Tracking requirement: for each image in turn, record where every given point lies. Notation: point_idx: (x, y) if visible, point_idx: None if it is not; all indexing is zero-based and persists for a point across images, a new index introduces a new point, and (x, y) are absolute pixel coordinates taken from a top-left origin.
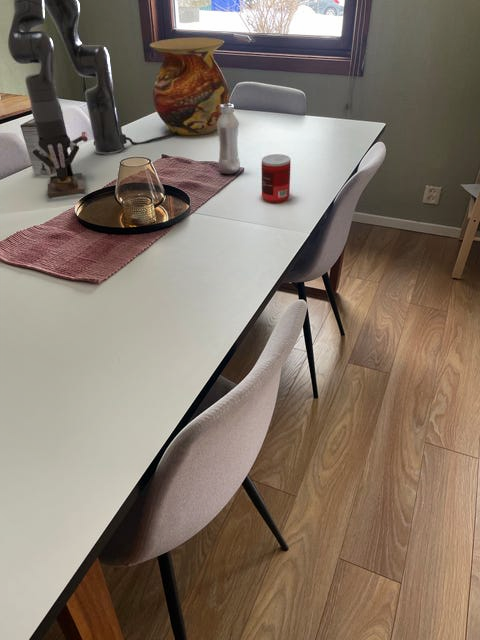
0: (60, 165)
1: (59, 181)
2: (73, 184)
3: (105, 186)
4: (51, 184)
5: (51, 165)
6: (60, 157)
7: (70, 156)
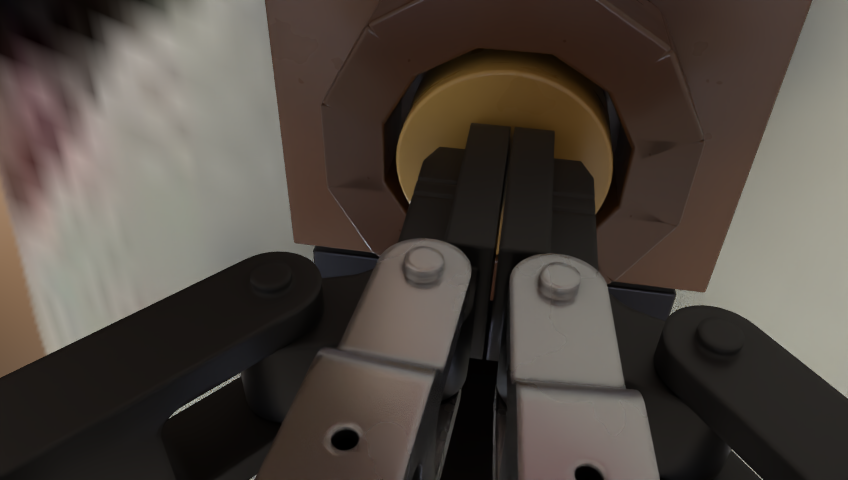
0: (488, 475)
1: (580, 123)
2: (380, 6)
3: (86, 94)
4: (671, 253)
5: (676, 324)
6: (397, 398)
7: (152, 379)
